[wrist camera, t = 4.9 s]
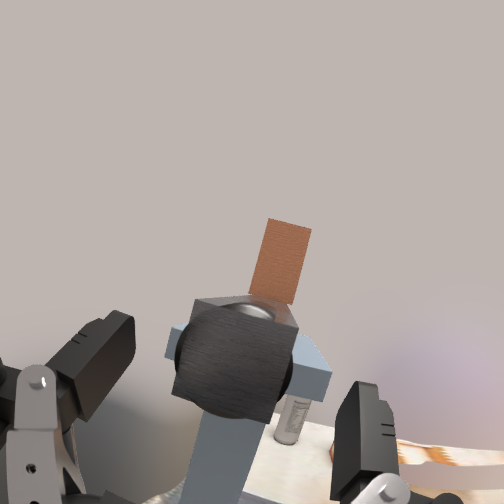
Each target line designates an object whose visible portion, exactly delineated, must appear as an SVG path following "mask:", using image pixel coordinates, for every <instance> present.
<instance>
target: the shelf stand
mask: <svg viewBox="0 0 504 504" xmlns="http://www.w3.org/2000/svg"><path fill="white" fill-rule="evenodd" d="M188 323H189V322H188ZM188 323H184V324H181V325H177V326H174V327H172V328H171V332H170V336H169V340H168V344H167V349H166V353H165V358H168V359H171V360H174V359H175V349H176V345H177V342H178V339H179V337H180V335H181V333H182V331H183V330H184V328H185V327H186V326H187V325H188ZM292 355H293V374H292V378H291V381H290V384H289V387H288V389H287V390H286V392H285V394H288V395H292V396H296V397H301V398H305V399H310V400H314V401H319V402H323V399H324V396H325V393H326V390H327V387H328V384H329V381H330V378H331V375H332V371H331V369H330V368H329V366H328V364H327V363H326V361H325V360H324V358H323V357H322V355H321V354H320V352H319V351H318V349H317V347H316V346H315V344H314V343H313V341H312V340H311V338H310V337H308V336H304V335H300V334H297V337H296V340H295V344H294V347H293V351H292ZM265 425H266V424H265V423H261V422H258V421H254V420H250V419H246V418H244V419H228V418H223V417H219V416H216V415H213V414H210V413H208V412H207V411H205V410H204V412H203V416H202V419H201V423H200V427H199V431H198V434H197V438H196V442H195V445H194V450H193V453H192V457H191V460H190V464H189V468H188V472H187V475H186V479H185V483H184V487H183V491H182V494H181V498H180V502H179V504H237V503H238V500H239V498H240V495H241V492H242V490H243V487H244V484H245V482H246V479H247V476H248V473H249V471H250V468H251V465H252V462H253V460H254V457H255V454H256V451H257V448H258V445H259V442H260V439H261V437H262V434H263V431H264V428H265Z"/></svg>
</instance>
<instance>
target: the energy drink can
mask: <svg viewBox="0 0 504 504" xmlns="http://www.w3.org/2000/svg"><path fill="white" fill-rule="evenodd" d="M311 401H312V400H310V399H305V398H301V397H296V396H292V395H287V398H286V401H285V405H284V407H283V410H282V413H281V416H280V419H279V422H278V425H277V428H276V431H275V433H274V436H275V439H276V440H277V441H278V442H280V443H282V444H286V445H292V444H294V442H296V441H297V440H298V437H299V435H300V432H301V429H302V426H303V424H304V421H305V418H306V415H307V412H308V410H309V407H310V404H311Z"/></svg>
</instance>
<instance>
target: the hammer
mask: <svg viewBox="0 0 504 504" xmlns="http://www.w3.org/2000/svg"><path fill="white" fill-rule="evenodd" d="M310 234H311V229H309V228H305V227H301V226H297V225H293V224H289V223H286V222H282V221H278V220H274V219H270V218H269V219H268V223H267V227H266V230H265V234H264V238H263V242H262V245H261V249H260V253H259V256H258V260H257V264H256V267H255V271H254V275H253V278H252V282H251V286H250V290H249V294H252V295H247V296H233V297H220V298H205V299H195V302H194V306H193V310H192V313H191V317H190V321H189V323H188V325H187V326H186V327H185V328H184V330H183V331H182V333H181V335H180V337H179V339H178V342H177V345H176V349H175V359H174V362H175V370H176V377H175V381H174V385H173V389H172V393H171V394H172V395H174V396H177V397H180V398H183V399H186V400H189V401H191V402H194V403H195V404H196V405H197V406H199V407H200V408H202V409H203V410H205V411H207V412H208V413H210V414H213V415H216V416H219V417H223V418H228V419H244V418H246V419H250V420H254V421H258V422H261V423H265V424H270V421H271V418H272V415H273V412H274V409H275V406H276V403H277V402H278V401H279V400H280V399H281V398H282V396H283V395H284V394H285V392H286V390H287V389H288V387H289V384H290V381H291V378H292V374H293V355H292V351H293V347H294V344H295V340H296V337H297V333H298V330H299V327H298V325H297V323H296V321H295V319H294V317H293V316H292V313H291V311H290V310H289V308H288V306H287V304H290V305H292V303H293V300H294V296H295V292H296V288H297V285H298V281H299V277H300V273H301V269H302V266H303V262H304V258H305V253H306V250H307V246H308V241H309V238H310Z"/></svg>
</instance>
